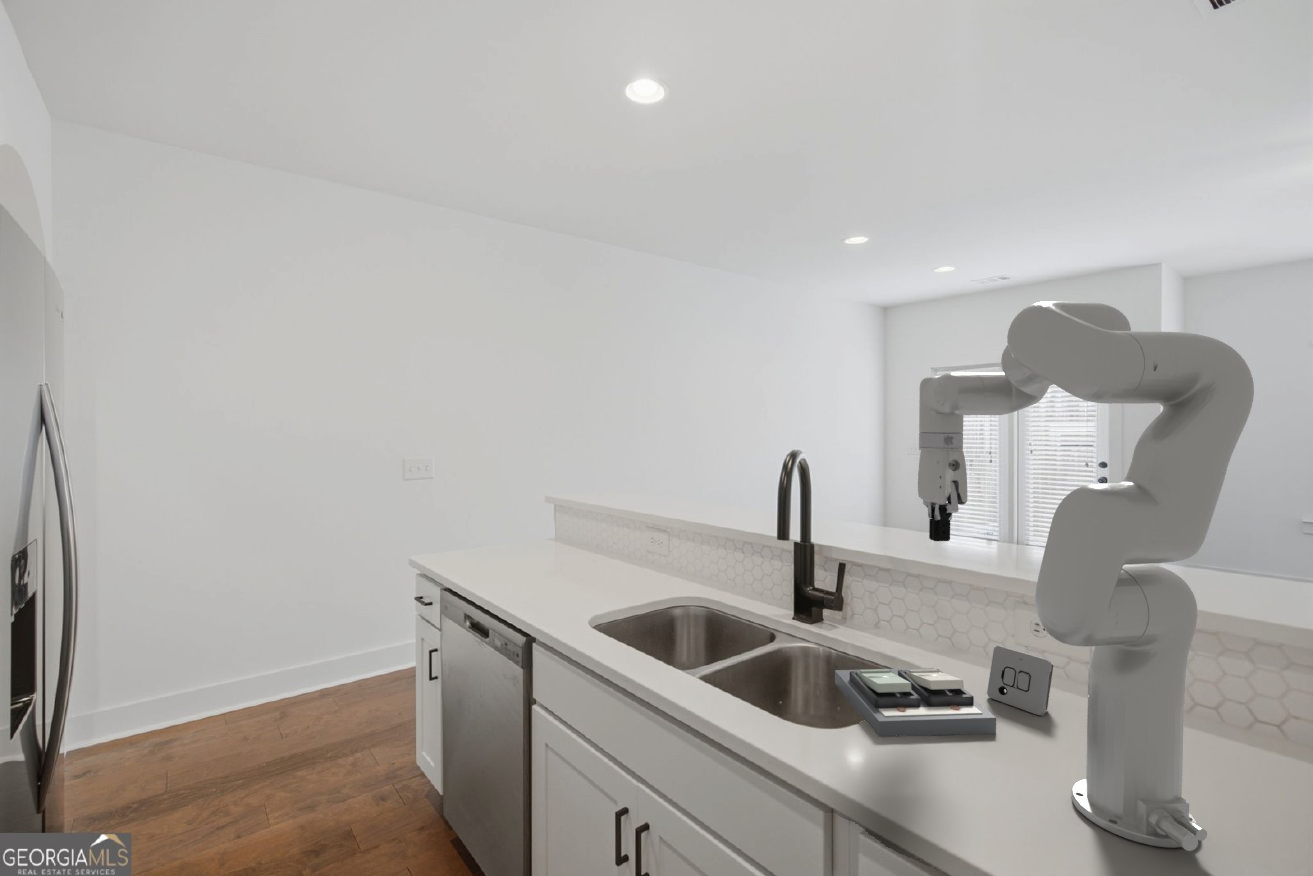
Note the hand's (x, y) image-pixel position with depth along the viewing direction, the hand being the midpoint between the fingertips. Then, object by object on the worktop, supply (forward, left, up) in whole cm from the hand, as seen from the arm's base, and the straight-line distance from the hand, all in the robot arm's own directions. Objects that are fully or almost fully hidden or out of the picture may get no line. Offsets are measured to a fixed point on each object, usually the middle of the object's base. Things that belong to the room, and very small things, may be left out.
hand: (939, 540), depth 117 cm
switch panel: (-9, +10, -27) cm, 30 cm away
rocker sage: (-9, +15, -23) cm, 28 cm away
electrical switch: (-9, -10, -27) cm, 31 cm away
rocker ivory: (-9, +6, -23) cm, 25 cm away
